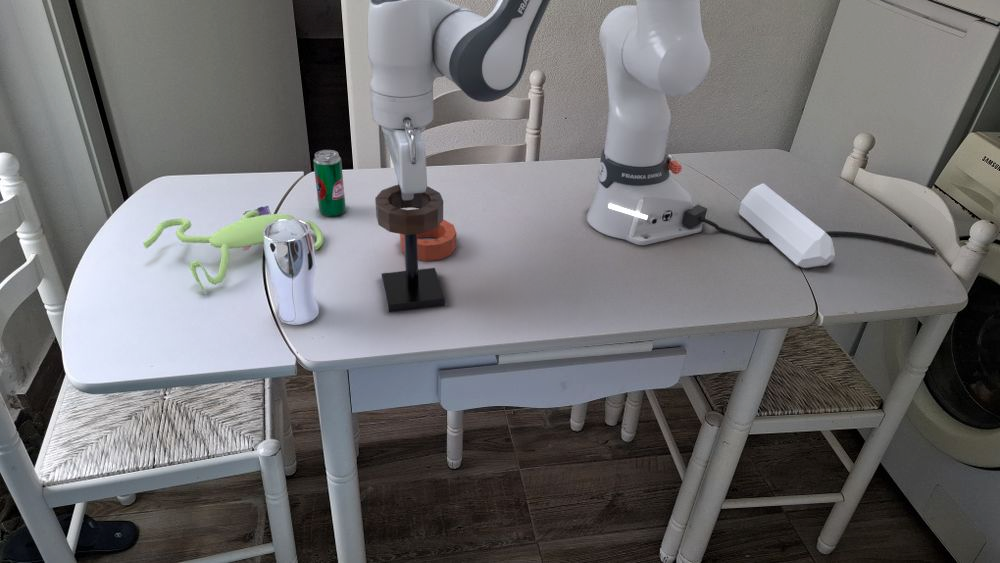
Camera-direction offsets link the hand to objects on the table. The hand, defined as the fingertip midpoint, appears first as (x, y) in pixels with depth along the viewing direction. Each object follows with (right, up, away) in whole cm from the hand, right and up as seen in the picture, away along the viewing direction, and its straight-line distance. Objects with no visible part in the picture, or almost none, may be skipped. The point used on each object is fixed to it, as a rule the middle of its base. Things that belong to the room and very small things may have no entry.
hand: (405, 193), depth 106 cm
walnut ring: (+1, -4, -2) cm, 5 cm away
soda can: (-18, 0, +27) cm, 33 cm away
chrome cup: (-17, -19, 0) cm, 25 cm away
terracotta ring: (+2, -7, +18) cm, 20 cm away
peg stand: (0, -16, +6) cm, 17 cm away
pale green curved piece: (-31, -9, +14) cm, 35 cm away
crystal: (+69, -6, +26) cm, 74 cm away
